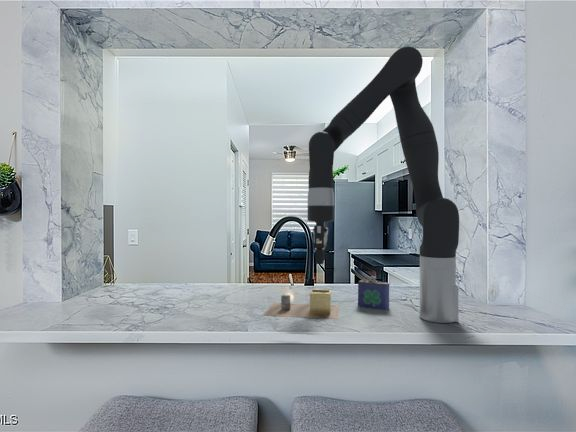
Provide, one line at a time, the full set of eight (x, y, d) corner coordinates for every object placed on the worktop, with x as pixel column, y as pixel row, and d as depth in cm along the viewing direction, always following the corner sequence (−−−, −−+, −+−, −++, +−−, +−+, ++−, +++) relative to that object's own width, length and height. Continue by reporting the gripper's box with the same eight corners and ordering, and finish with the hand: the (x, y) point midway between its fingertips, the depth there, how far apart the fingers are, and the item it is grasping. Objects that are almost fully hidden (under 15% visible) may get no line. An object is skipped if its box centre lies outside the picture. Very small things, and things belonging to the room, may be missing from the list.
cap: (331, 308, 101) (331, 288, 101) (330, 314, 95) (330, 292, 95) (311, 308, 102) (311, 287, 102) (309, 313, 96) (309, 291, 96)
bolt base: (338, 310, 105) (338, 292, 105) (338, 324, 91) (338, 303, 91) (273, 307, 108) (273, 290, 108) (263, 321, 94) (263, 300, 94)
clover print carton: (390, 313, 102) (390, 276, 102) (388, 315, 100) (387, 278, 100) (359, 309, 106) (359, 274, 106) (356, 311, 104) (356, 275, 104)
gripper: (333, 203, 91) (333, 265, 91) (334, 205, 105) (334, 259, 105) (304, 203, 92) (304, 265, 92) (310, 205, 106) (309, 258, 106)
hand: (320, 261), depth 99 cm, fingers open, 8 cm apart
